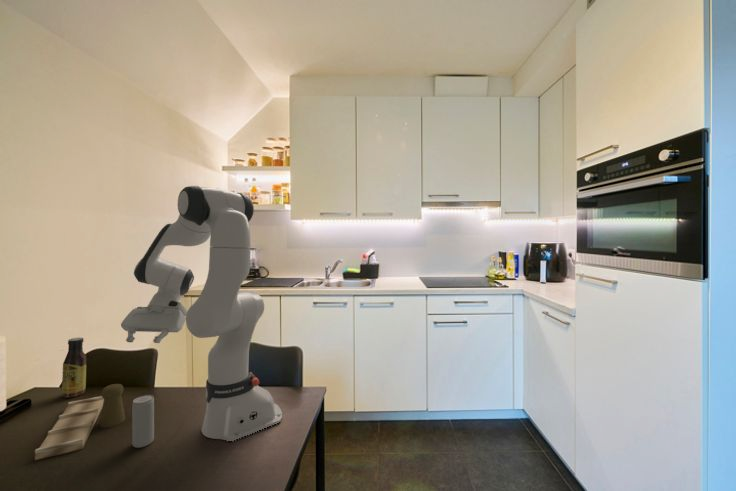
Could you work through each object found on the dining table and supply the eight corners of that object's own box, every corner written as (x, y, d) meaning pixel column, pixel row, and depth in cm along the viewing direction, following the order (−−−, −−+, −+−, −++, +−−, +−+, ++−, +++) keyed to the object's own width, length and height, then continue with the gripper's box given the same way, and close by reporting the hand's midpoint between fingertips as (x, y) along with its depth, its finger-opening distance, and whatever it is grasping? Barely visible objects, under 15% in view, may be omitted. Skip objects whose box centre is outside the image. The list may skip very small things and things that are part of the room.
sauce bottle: (57, 398, 112) (56, 340, 112) (76, 389, 118) (76, 335, 118) (72, 399, 111) (72, 341, 110) (91, 391, 117) (91, 336, 117)
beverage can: (134, 440, 88) (134, 396, 88) (155, 436, 90) (155, 393, 90) (129, 450, 84) (129, 404, 84) (151, 446, 86) (151, 401, 85)
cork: (111, 428, 93) (111, 391, 93) (94, 426, 95) (94, 389, 94) (130, 417, 99) (130, 382, 99) (114, 415, 100) (114, 380, 100)
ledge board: (104, 402, 108) (104, 395, 108) (82, 448, 84) (82, 439, 84) (68, 409, 104) (69, 402, 104) (35, 460, 80) (35, 450, 80)
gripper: (129, 301, 117) (107, 336, 107) (185, 303, 116) (167, 338, 107) (138, 311, 121) (117, 345, 112) (192, 312, 121) (175, 347, 111)
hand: (142, 342), depth 109 cm, fingers open, 8 cm apart
